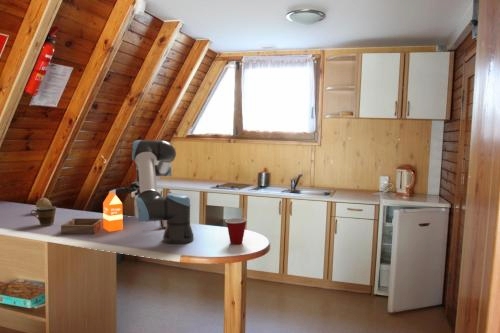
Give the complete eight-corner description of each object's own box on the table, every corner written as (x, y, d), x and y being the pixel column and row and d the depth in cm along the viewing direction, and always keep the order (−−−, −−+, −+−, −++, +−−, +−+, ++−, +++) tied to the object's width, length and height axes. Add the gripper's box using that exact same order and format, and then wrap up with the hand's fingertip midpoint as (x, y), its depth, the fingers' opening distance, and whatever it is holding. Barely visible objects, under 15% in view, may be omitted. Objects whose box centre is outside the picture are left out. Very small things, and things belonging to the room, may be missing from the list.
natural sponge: (34, 212, 263) (33, 197, 262) (49, 210, 269) (48, 195, 268) (38, 215, 256) (37, 199, 255) (53, 213, 262) (52, 197, 261)
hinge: (166, 229, 226) (162, 211, 227) (160, 231, 228) (156, 213, 229) (186, 223, 240) (182, 207, 241) (180, 225, 243) (176, 208, 243)
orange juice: (109, 231, 219) (108, 195, 217) (103, 228, 226) (102, 192, 224) (123, 229, 224) (122, 193, 222) (117, 226, 231) (116, 191, 229)
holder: (94, 234, 214) (93, 225, 213) (61, 234, 213) (60, 225, 213) (104, 226, 231) (104, 218, 230) (74, 226, 230) (73, 218, 230)
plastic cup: (229, 239, 208) (230, 216, 207) (249, 241, 205) (250, 218, 204) (221, 244, 198) (221, 220, 197) (242, 247, 195) (242, 222, 193)
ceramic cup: (54, 222, 239) (54, 205, 238) (58, 225, 231) (57, 208, 230) (29, 224, 231) (29, 207, 230) (32, 228, 223) (31, 210, 222)
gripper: (155, 195, 254) (141, 201, 233) (117, 193, 258) (100, 199, 237) (155, 183, 253) (141, 188, 233) (117, 181, 257) (100, 187, 236)
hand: (120, 194), depth 235 cm, fingers open, 13 cm apart
